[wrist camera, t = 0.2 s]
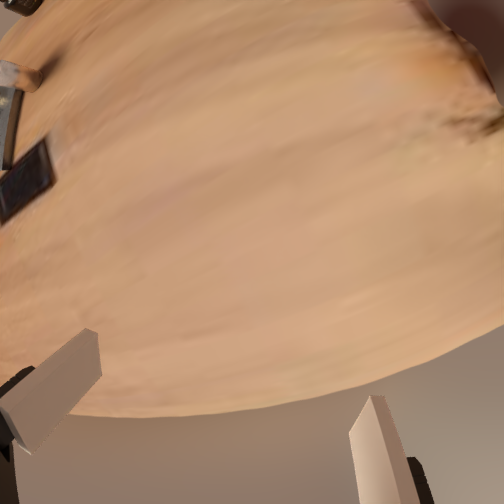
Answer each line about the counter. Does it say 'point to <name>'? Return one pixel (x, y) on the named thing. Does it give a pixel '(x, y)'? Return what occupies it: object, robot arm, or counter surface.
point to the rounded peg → (19, 77)
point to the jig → (8, 123)
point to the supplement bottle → (22, 6)
